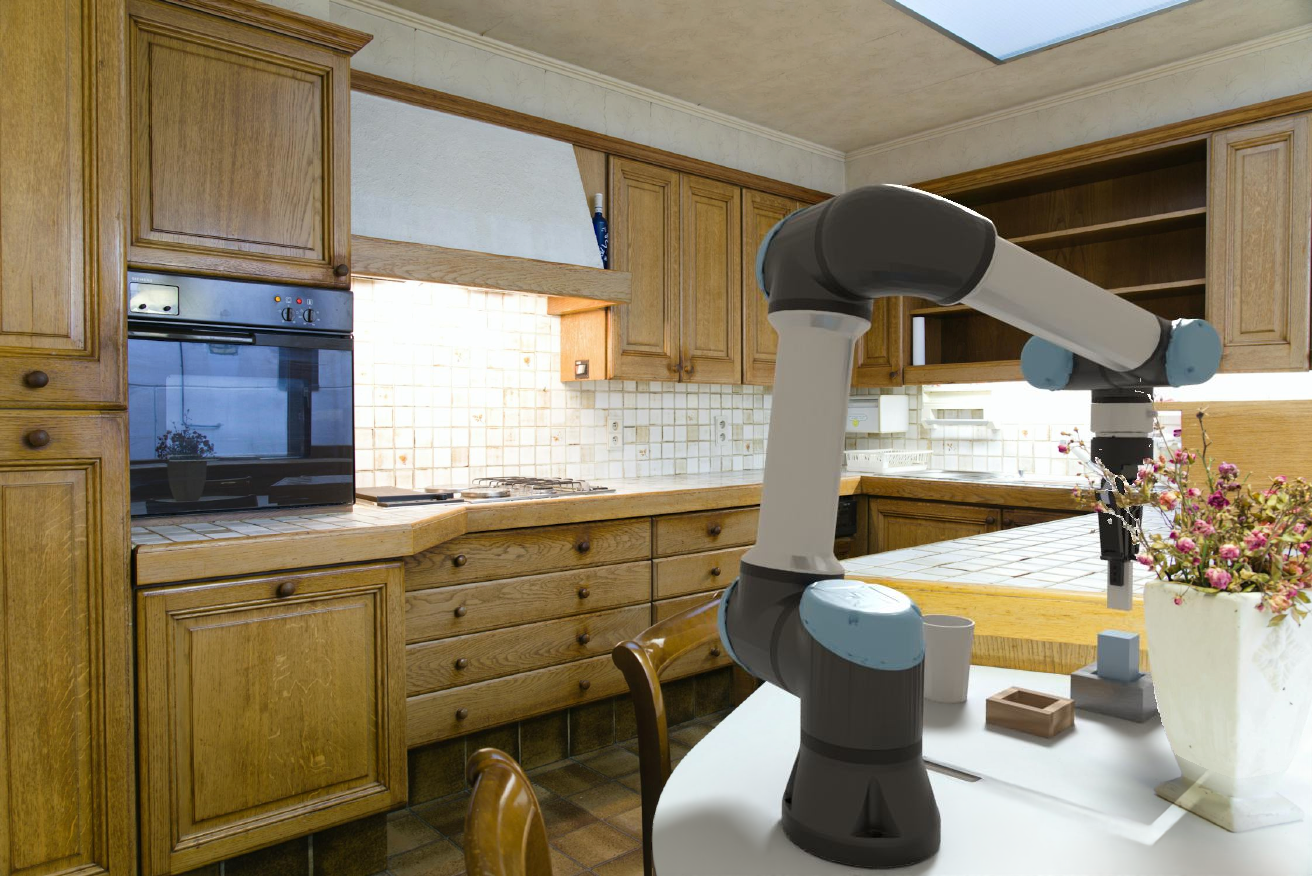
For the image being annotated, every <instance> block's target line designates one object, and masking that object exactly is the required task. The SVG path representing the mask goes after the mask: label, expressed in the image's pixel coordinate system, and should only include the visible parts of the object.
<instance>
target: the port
mask: <svg viewBox="0 0 1312 876" xmlns="http://www.w3.org/2000/svg"><path fill="white" fill-rule="evenodd" d="M1151 672H1152V671H1146V670H1143V669H1139V679H1138V680H1136V681H1135V682H1133V683H1132V682H1127V681H1122V680H1117V679H1112V678H1108V677H1103V676H1098V675H1097V660H1096V661H1093V662H1091V663H1089V664H1087V665H1085V666H1083V667H1081V668H1079V669H1078V670H1077V669H1076V670H1075V671H1072V672H1071V673H1070V686H1069V687H1070V688H1069V689H1070V690H1069V691H1070V695H1069V699H1072V700H1075V709H1078V710H1083V711H1087V712H1090V713H1095V714H1099V715H1104V716H1107V717H1112V718H1117V719H1121V720H1124V721H1130V722H1134V723H1138V724H1144V723H1146V722H1147V721H1148V720H1150V719H1152V718H1153V717H1154V716H1156V715H1157V714H1159V713H1158V709H1157V702H1156V699H1155V694H1154V686H1153V680H1152V676H1151Z"/></svg>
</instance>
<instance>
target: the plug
mask: <svg viewBox="0 0 1312 876" xmlns="http://www.w3.org/2000/svg"><path fill="white" fill-rule="evenodd" d="M1096 635H1097V639H1096V640H1097V643H1096V651H1097V652H1096V653H1097V655H1096V661H1097V675H1098V676H1103V677H1108V678H1112V679H1117V680H1122V681H1127V682H1132V683H1133V682H1135V681H1136V680H1138V679H1139V670H1140V638H1141V637H1140V635H1141V634H1140V633H1133V632H1128V631H1121V630H1115V629H1109V628H1108V629H1105V630H1103V631H1101V632H1099V633H1097V634H1096Z"/></svg>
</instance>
